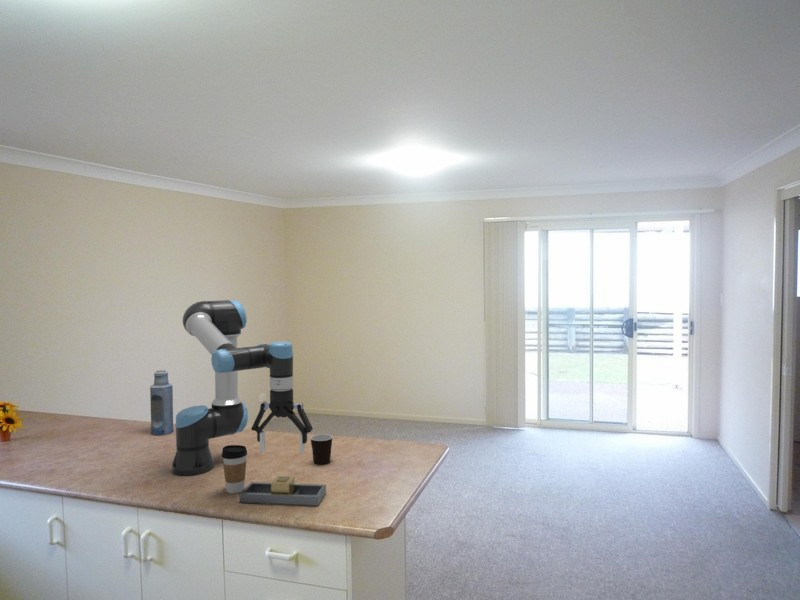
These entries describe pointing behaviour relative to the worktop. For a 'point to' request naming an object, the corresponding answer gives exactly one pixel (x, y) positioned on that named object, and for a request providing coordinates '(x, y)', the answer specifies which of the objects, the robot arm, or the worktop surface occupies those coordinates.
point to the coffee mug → (321, 448)
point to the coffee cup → (234, 467)
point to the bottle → (161, 404)
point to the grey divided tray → (283, 495)
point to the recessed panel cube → (283, 485)
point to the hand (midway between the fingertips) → (282, 452)
